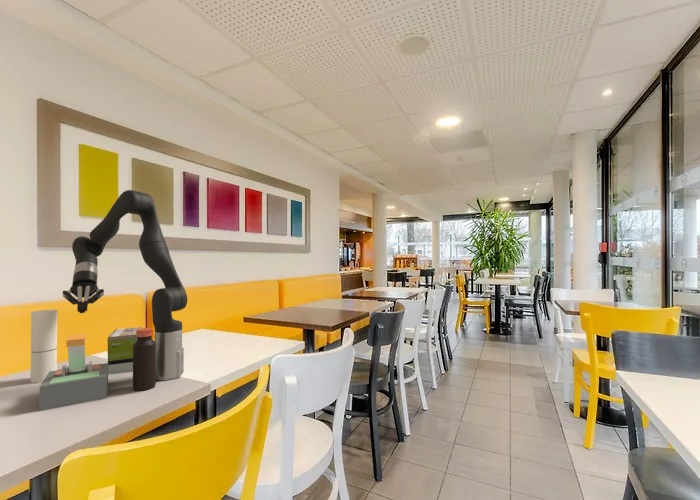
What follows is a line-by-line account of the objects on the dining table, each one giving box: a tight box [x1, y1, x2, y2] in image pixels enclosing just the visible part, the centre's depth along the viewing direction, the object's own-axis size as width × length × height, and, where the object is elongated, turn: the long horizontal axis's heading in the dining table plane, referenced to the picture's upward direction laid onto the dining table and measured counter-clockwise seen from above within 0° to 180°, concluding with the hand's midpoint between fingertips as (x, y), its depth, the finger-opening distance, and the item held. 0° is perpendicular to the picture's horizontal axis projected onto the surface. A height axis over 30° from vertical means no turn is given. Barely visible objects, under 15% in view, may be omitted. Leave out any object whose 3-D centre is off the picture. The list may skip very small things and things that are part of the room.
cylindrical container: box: [30, 309, 58, 384], centre depth 126 cm, size 7×7×25 cm
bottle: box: [132, 327, 157, 392], centre depth 117 cm, size 7×7×20 cm
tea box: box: [107, 326, 142, 375], centre depth 139 cm, size 15×10×15 cm
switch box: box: [38, 360, 109, 412], centre depth 111 cm, size 16×16×10 cm
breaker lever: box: [65, 333, 88, 374], centre depth 109 cm, size 5×3×14 cm, turn 124°
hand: (82, 311), depth 124 cm, fingers closed
